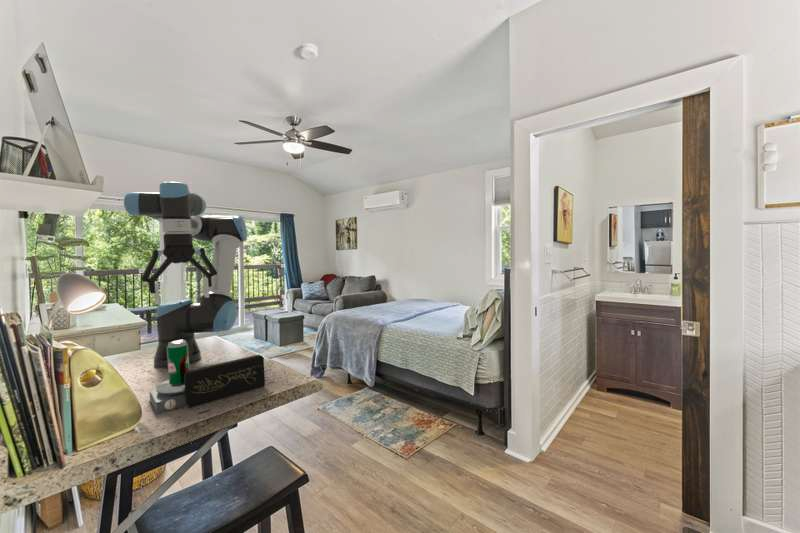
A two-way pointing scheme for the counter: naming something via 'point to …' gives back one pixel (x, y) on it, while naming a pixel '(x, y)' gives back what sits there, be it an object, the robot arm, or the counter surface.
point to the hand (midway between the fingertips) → (183, 300)
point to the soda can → (177, 361)
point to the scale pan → (169, 388)
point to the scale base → (166, 401)
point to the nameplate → (223, 380)
